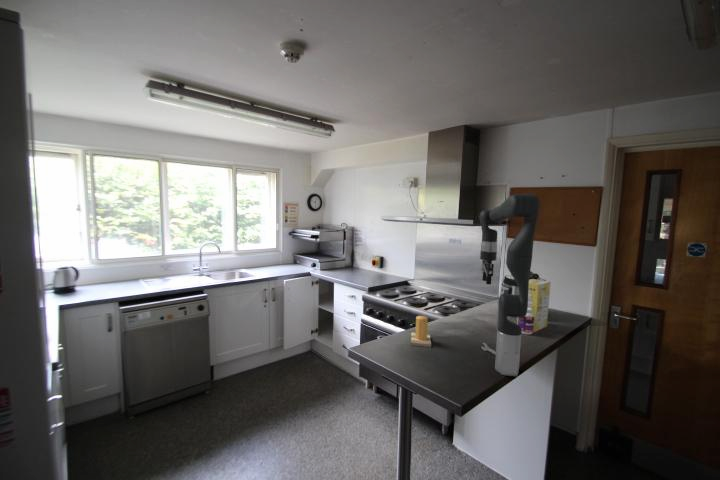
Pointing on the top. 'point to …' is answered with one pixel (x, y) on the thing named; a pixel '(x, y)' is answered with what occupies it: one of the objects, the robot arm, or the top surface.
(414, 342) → the post board
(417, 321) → the octagonal lidded canister
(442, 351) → the top surface
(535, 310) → the pasta box
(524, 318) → the pill bottle
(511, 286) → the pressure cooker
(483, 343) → the combination wrench
